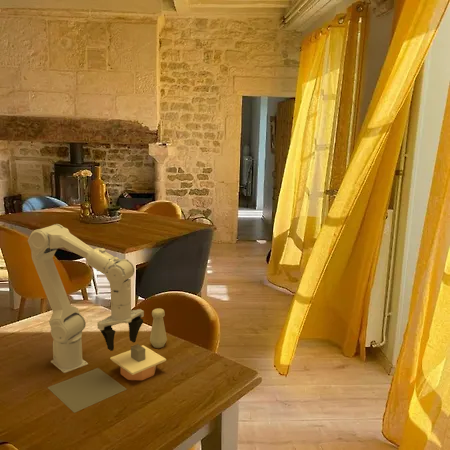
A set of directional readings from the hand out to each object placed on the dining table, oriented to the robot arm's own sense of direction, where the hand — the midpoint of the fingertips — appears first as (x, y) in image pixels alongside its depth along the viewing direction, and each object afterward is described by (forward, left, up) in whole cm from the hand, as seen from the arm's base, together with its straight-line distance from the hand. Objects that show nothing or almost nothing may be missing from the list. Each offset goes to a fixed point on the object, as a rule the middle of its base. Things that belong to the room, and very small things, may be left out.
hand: (121, 345), depth 135 cm
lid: (+2, +5, -6) cm, 8 cm away
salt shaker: (-8, +20, -10) cm, 23 cm away
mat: (0, -11, -10) cm, 15 cm away
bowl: (+2, +5, -10) cm, 11 cm away
